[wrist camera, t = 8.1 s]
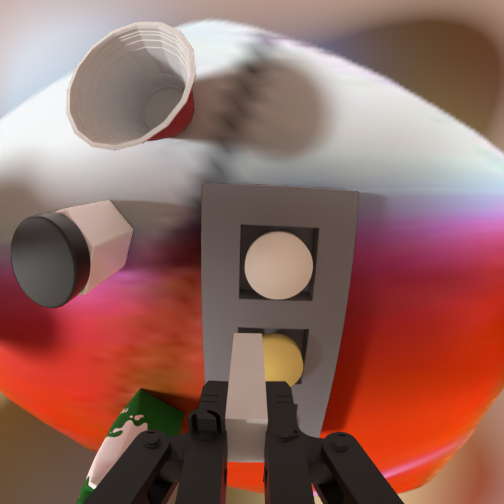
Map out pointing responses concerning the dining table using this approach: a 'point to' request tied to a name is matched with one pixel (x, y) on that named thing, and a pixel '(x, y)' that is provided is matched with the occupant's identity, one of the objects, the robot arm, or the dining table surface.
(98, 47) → the plastic cup
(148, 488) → the robot arm
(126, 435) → the milk carton
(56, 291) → the jar
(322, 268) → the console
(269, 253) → the cream button
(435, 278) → the dining table surface
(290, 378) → the mustard button
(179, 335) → the dining table surface
